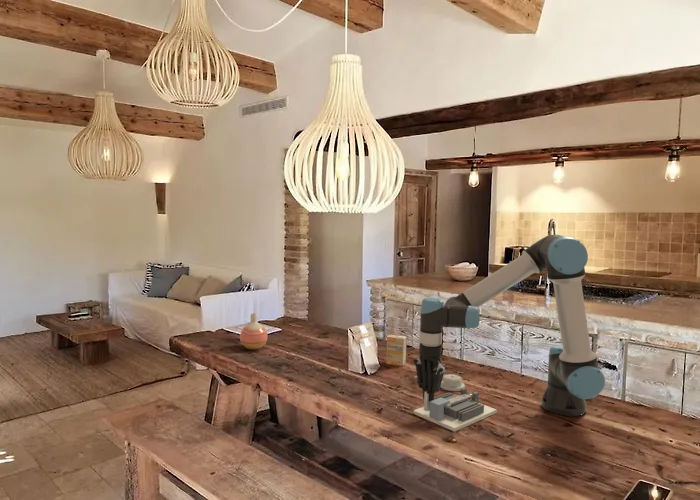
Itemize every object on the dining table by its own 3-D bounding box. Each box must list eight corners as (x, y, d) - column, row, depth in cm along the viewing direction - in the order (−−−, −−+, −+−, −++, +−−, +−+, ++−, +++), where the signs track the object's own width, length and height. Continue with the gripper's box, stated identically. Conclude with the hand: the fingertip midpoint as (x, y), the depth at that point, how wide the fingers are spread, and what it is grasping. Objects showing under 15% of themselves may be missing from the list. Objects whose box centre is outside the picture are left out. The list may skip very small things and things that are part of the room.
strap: (476, 399, 183) (476, 395, 183) (446, 409, 172) (446, 405, 172) (464, 395, 187) (465, 391, 187) (435, 405, 176) (435, 401, 176)
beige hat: (439, 390, 202) (465, 392, 200) (439, 380, 201) (465, 382, 200) (439, 382, 211) (464, 384, 210) (440, 372, 211) (464, 373, 209)
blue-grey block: (449, 416, 174) (449, 400, 174) (438, 420, 170) (438, 405, 170) (440, 412, 177) (440, 397, 177) (429, 416, 173) (429, 401, 173)
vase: (273, 347, 258) (273, 313, 256) (254, 353, 246) (254, 318, 245) (253, 342, 265) (253, 309, 263) (234, 349, 254) (234, 314, 252)
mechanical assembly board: (496, 412, 181) (497, 395, 180) (454, 431, 165) (455, 412, 164) (456, 397, 194) (456, 381, 194) (413, 413, 179) (413, 396, 178)
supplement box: (385, 364, 233) (386, 336, 232) (389, 361, 238) (389, 334, 236) (403, 366, 230) (403, 338, 229) (406, 363, 235) (406, 336, 233)
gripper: (452, 346, 171) (449, 413, 173) (423, 337, 180) (421, 401, 183) (438, 349, 166) (435, 419, 168) (409, 340, 176) (406, 406, 178)
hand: (427, 409), depth 176 cm, fingers closed
